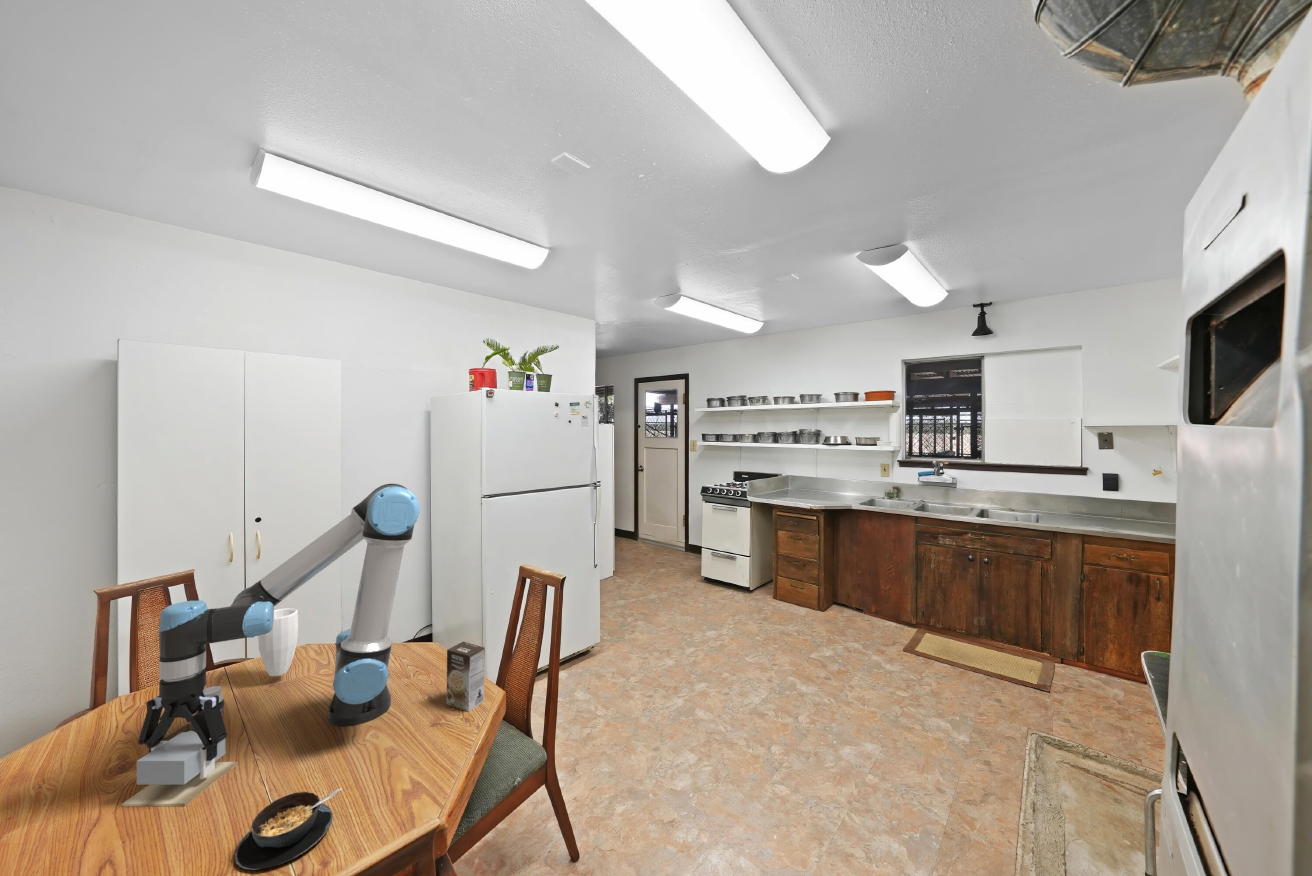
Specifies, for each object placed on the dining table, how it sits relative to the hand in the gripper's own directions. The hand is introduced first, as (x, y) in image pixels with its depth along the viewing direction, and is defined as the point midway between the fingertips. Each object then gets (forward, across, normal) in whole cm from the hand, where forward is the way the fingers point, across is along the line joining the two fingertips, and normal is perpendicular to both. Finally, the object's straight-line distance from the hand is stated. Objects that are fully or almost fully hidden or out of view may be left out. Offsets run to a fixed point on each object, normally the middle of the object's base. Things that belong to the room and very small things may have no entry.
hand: (183, 773), depth 109 cm
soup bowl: (+3, -34, +15) cm, 37 cm away
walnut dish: (+2, +9, -11) cm, 14 cm away
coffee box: (+3, -50, -33) cm, 60 cm away
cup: (+3, +13, -45) cm, 47 cm away
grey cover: (-1, 0, 0) cm, 1 cm away
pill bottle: (+3, +13, -21) cm, 25 cm away
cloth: (+2, 0, 0) cm, 2 cm away
